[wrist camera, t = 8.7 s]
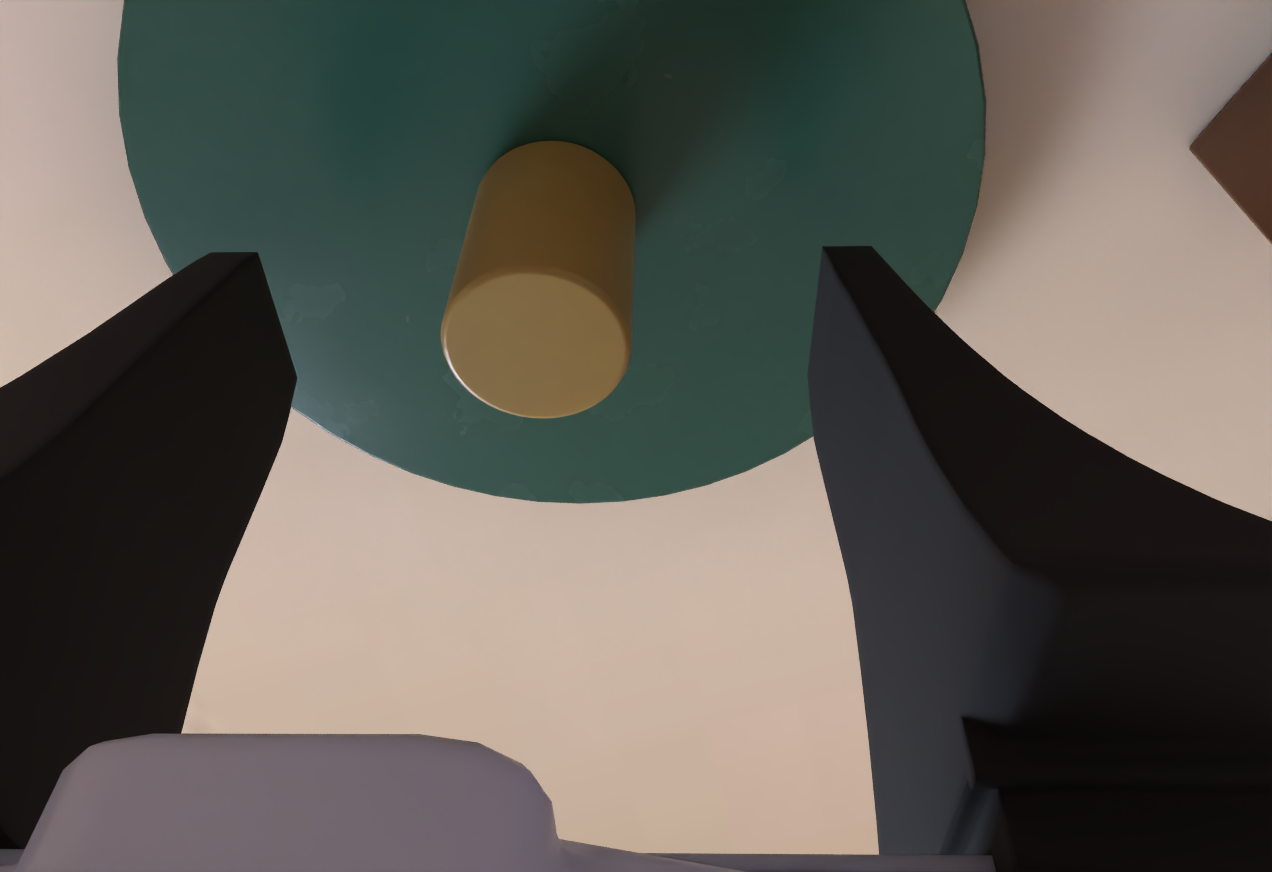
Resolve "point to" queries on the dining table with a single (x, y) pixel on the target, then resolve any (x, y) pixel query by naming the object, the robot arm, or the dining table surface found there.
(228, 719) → the dining table surface
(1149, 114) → the dining table surface
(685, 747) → the dining table surface
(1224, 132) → the block
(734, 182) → the lid
